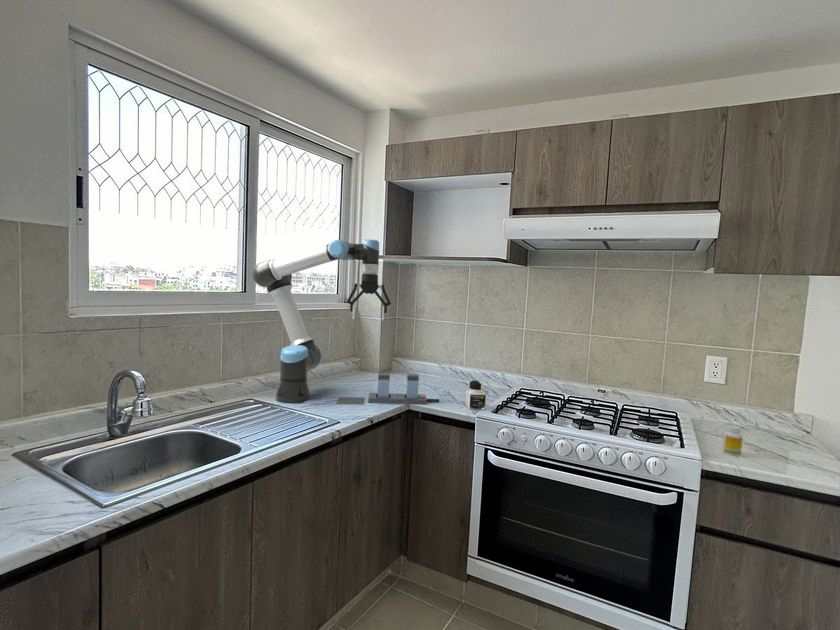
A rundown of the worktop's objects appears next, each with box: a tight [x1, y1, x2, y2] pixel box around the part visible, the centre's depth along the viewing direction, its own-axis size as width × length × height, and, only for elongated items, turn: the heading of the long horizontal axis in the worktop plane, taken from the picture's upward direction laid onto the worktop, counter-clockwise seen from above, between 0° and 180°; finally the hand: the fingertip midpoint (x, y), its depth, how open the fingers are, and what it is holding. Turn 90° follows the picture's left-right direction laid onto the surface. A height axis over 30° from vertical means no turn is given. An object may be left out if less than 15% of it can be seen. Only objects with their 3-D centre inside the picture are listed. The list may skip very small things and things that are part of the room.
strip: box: [367, 392, 440, 406], centre depth 203 cm, size 32×10×4 cm, turn 94°
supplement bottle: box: [722, 424, 744, 457], centre depth 157 cm, size 5×5×10 cm
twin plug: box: [405, 373, 420, 399], centre depth 203 cm, size 5×5×12 cm
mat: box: [335, 396, 366, 406], centre depth 202 cm, size 12×12×1 cm
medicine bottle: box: [465, 380, 487, 410], centre depth 201 cm, size 7×7×12 cm
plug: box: [377, 372, 391, 398], centre depth 202 cm, size 5×5×12 cm
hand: (368, 319), depth 208 cm, fingers open, 13 cm apart
